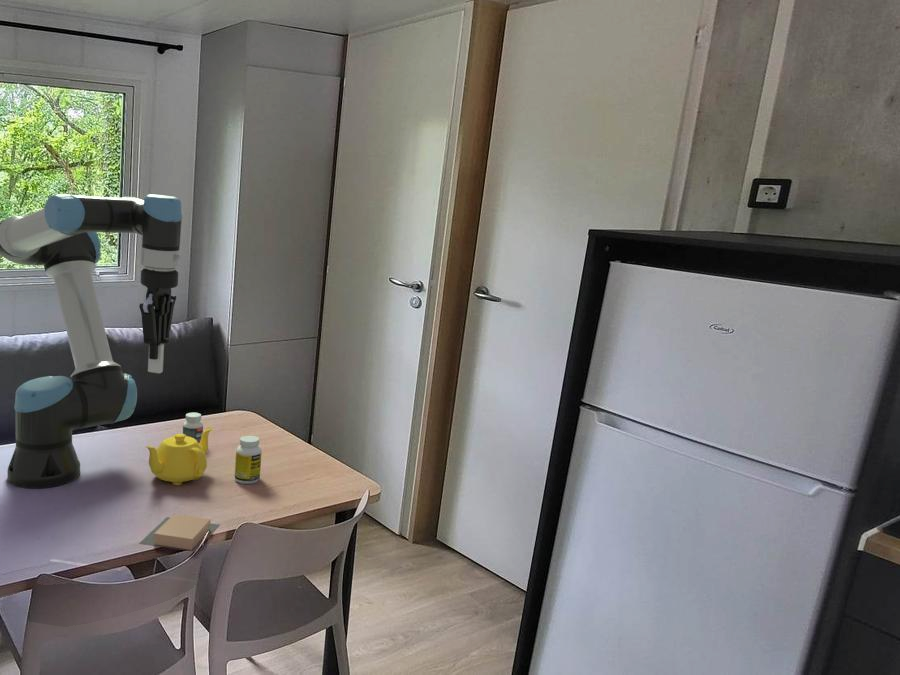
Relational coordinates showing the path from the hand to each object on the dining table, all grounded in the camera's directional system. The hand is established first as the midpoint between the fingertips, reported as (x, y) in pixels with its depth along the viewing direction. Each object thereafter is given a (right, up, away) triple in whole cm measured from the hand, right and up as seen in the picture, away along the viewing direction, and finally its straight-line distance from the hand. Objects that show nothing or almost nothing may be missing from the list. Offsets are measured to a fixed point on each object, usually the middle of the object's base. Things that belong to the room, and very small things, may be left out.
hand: (155, 371), depth 160 cm
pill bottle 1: (-6, -23, +39) cm, 45 cm away
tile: (+11, -32, -6) cm, 34 cm away
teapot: (-1, -28, +17) cm, 33 cm away
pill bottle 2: (+15, -29, +21) cm, 38 cm away
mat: (+9, -34, -9) cm, 37 cm away
